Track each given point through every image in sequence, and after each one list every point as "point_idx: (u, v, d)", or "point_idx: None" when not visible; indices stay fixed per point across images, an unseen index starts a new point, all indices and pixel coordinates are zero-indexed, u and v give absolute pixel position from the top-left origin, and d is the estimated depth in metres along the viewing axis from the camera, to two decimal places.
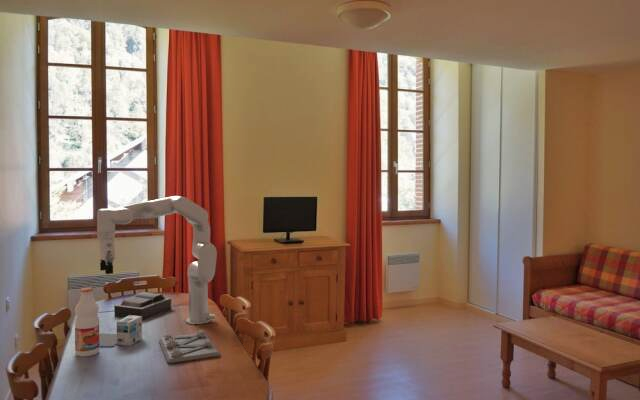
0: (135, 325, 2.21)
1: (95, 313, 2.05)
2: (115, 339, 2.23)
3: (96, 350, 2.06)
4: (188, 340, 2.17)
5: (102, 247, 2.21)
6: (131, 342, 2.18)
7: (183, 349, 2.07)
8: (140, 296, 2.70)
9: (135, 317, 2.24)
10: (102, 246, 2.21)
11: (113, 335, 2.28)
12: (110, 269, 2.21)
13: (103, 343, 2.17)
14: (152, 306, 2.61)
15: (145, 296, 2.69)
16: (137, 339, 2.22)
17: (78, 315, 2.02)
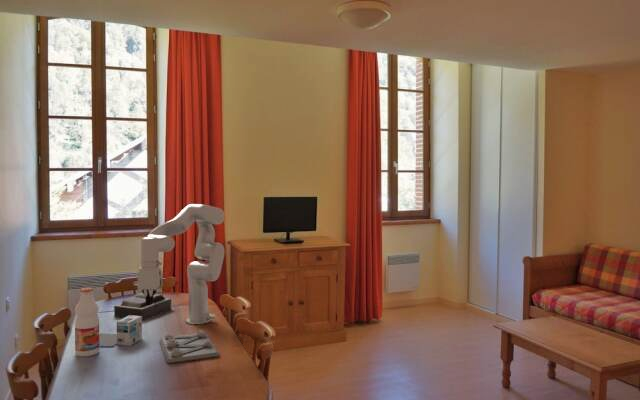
0: (135, 325, 2.21)
1: (95, 313, 2.05)
2: (115, 339, 2.23)
3: (96, 350, 2.06)
4: (188, 340, 2.17)
5: (153, 276, 2.17)
6: (131, 342, 2.18)
7: (183, 349, 2.07)
8: (140, 296, 2.69)
9: (135, 317, 2.24)
10: (153, 275, 2.17)
11: (113, 335, 2.28)
12: (152, 300, 2.20)
13: (103, 343, 2.17)
14: (152, 306, 2.61)
15: (145, 296, 2.68)
16: (137, 339, 2.22)
17: (78, 315, 2.02)
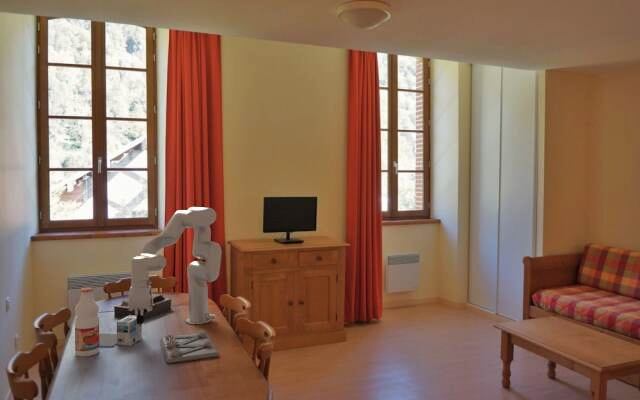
0: (135, 325, 2.21)
1: (95, 313, 2.05)
2: (115, 339, 2.23)
3: (96, 350, 2.06)
4: (188, 340, 2.17)
5: (144, 296, 2.18)
6: (131, 342, 2.18)
7: (183, 349, 2.07)
8: None
9: (135, 317, 2.24)
10: (144, 295, 2.18)
11: (113, 335, 2.28)
12: (143, 318, 2.21)
13: (103, 343, 2.17)
14: (152, 307, 2.60)
15: None
16: (137, 339, 2.22)
17: (78, 315, 2.02)
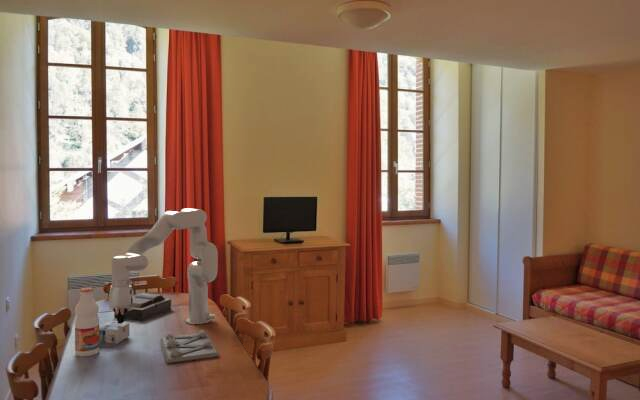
0: (108, 325, 2.23)
1: (95, 313, 2.05)
2: None
3: (96, 350, 2.06)
4: (189, 340, 2.17)
5: (124, 295, 2.19)
6: (117, 328, 2.19)
7: (183, 349, 2.07)
8: (140, 297, 2.68)
9: None
10: (124, 294, 2.19)
11: None
12: (124, 318, 2.22)
13: (103, 343, 2.17)
14: (152, 307, 2.60)
15: (145, 297, 2.67)
16: (123, 325, 2.23)
17: (78, 315, 2.02)
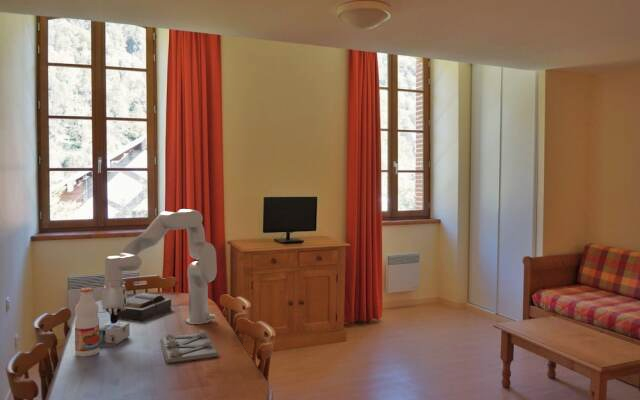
0: (108, 325, 2.23)
1: (95, 313, 2.05)
2: None
3: (96, 350, 2.06)
4: (189, 340, 2.17)
5: (117, 295, 2.19)
6: (117, 328, 2.19)
7: (183, 349, 2.07)
8: (140, 297, 2.68)
9: None
10: (117, 294, 2.19)
11: None
12: (117, 318, 2.22)
13: (103, 343, 2.17)
14: (152, 307, 2.60)
15: (145, 297, 2.67)
16: (123, 325, 2.23)
17: (78, 315, 2.02)
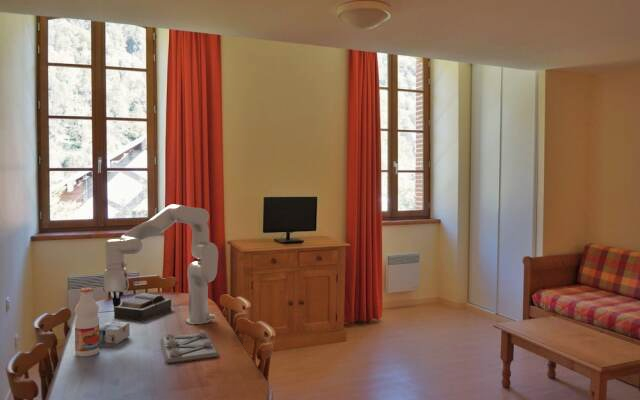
0: (108, 325, 2.23)
1: (95, 313, 2.05)
2: None
3: (96, 350, 2.06)
4: (189, 340, 2.17)
5: (119, 278, 2.19)
6: (117, 328, 2.19)
7: (182, 349, 2.07)
8: (140, 297, 2.68)
9: None
10: (119, 277, 2.19)
11: None
12: (120, 301, 2.22)
13: (103, 343, 2.17)
14: (152, 307, 2.59)
15: (145, 297, 2.67)
16: (123, 325, 2.23)
17: (78, 315, 2.02)
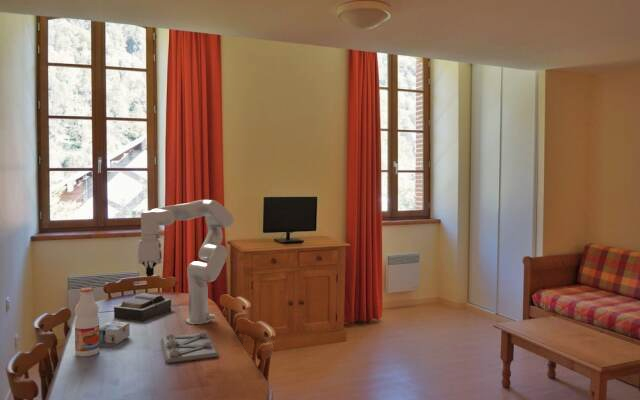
0: (108, 325, 2.23)
1: (95, 313, 2.05)
2: None
3: (96, 350, 2.06)
4: (189, 340, 2.17)
5: (153, 249, 2.24)
6: (117, 328, 2.19)
7: (182, 349, 2.07)
8: (140, 297, 2.67)
9: None
10: (153, 248, 2.24)
11: None
12: (153, 271, 2.27)
13: (103, 343, 2.17)
14: (152, 307, 2.59)
15: (145, 297, 2.67)
16: (123, 325, 2.23)
17: (78, 315, 2.02)
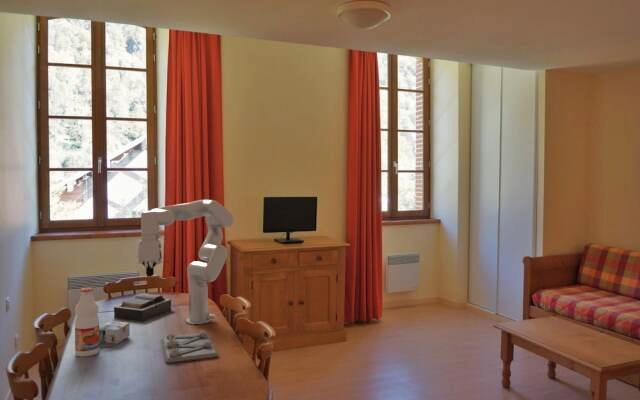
0: (108, 325, 2.23)
1: (95, 313, 2.05)
2: None
3: (96, 350, 2.06)
4: (189, 340, 2.17)
5: (153, 249, 2.24)
6: (117, 328, 2.19)
7: (182, 349, 2.07)
8: (140, 297, 2.67)
9: None
10: (153, 248, 2.24)
11: None
12: (153, 271, 2.27)
13: (103, 343, 2.17)
14: (152, 307, 2.59)
15: (145, 297, 2.66)
16: (123, 325, 2.23)
17: (78, 315, 2.02)
